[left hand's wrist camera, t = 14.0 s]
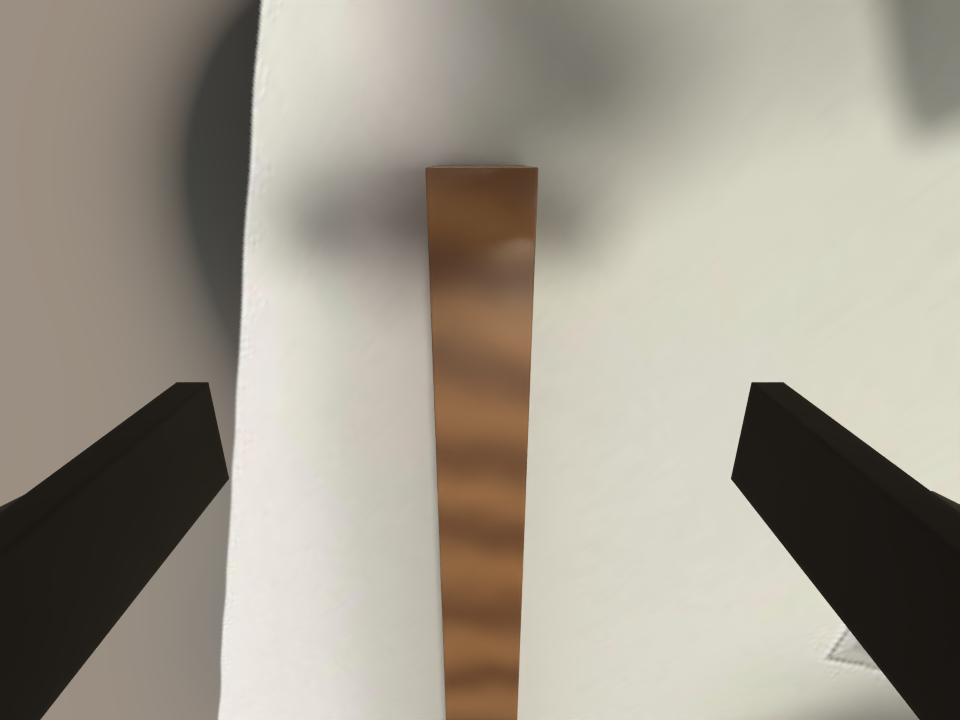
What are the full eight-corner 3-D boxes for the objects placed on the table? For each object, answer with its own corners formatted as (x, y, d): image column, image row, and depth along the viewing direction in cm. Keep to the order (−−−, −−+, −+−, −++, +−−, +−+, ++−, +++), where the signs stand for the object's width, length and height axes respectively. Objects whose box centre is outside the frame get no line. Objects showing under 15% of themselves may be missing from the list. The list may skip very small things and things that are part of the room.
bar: (437, 165, 32) (425, 167, 25) (525, 165, 32) (538, 167, 25) (458, 885, 62) (455, 978, 55) (504, 885, 62) (507, 978, 55)
